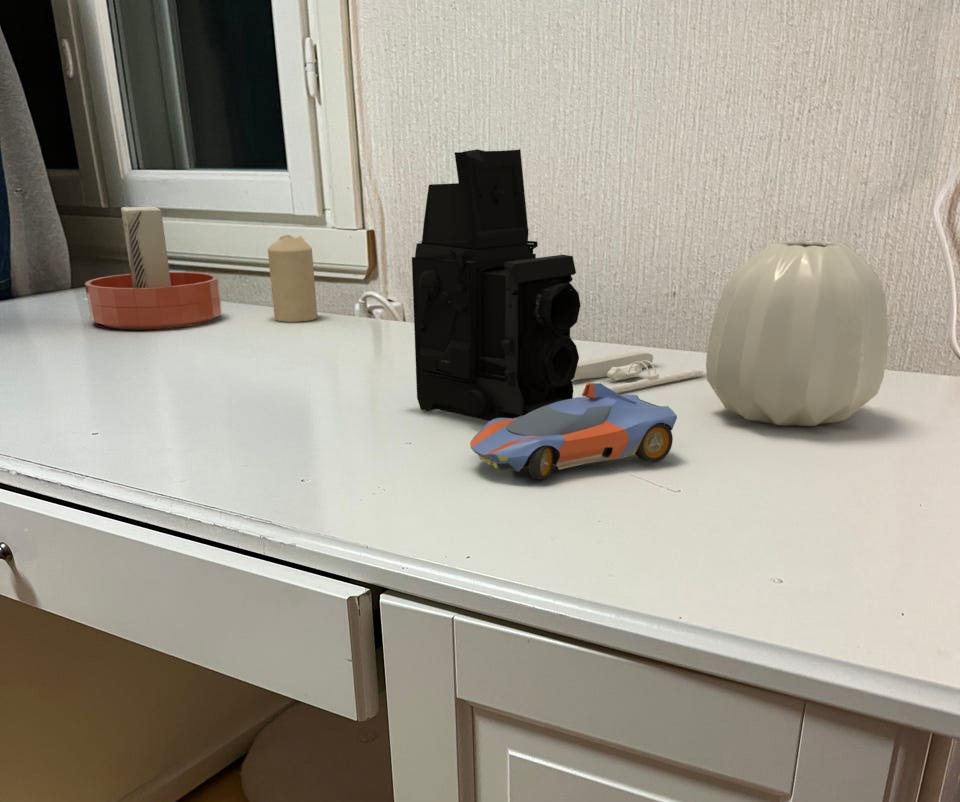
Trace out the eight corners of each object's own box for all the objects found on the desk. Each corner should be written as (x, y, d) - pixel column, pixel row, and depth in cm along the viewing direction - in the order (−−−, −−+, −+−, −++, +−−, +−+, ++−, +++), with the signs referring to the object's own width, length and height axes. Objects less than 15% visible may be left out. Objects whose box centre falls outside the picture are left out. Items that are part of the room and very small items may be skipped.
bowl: (64, 326, 125) (56, 284, 122) (154, 307, 138) (148, 269, 135) (163, 335, 118) (157, 291, 116) (247, 314, 131) (243, 275, 129)
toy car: (451, 459, 72) (449, 386, 69) (622, 433, 78) (626, 364, 75) (503, 491, 65) (503, 410, 63) (685, 459, 71) (692, 385, 69)
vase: (867, 400, 86) (895, 236, 80) (879, 443, 74) (913, 254, 68) (707, 392, 90) (722, 234, 84) (694, 432, 78) (711, 251, 72)
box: (136, 313, 129) (118, 206, 123) (170, 311, 131) (155, 205, 125) (141, 319, 125) (124, 209, 119) (177, 317, 126) (161, 208, 121)
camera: (521, 441, 76) (524, 150, 67) (403, 411, 84) (391, 149, 75) (600, 416, 82) (613, 148, 73) (483, 391, 91) (482, 147, 82)
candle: (271, 316, 130) (263, 235, 125) (312, 314, 131) (305, 233, 127) (278, 323, 125) (270, 238, 120) (321, 320, 127) (315, 236, 122)
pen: (548, 384, 93) (548, 366, 92) (645, 363, 101) (646, 347, 100) (559, 387, 92) (560, 369, 91) (657, 365, 100) (658, 349, 99)
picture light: (600, 397, 88) (601, 373, 87) (567, 389, 91) (568, 366, 90) (705, 376, 96) (707, 354, 95) (671, 368, 99) (673, 347, 98)
